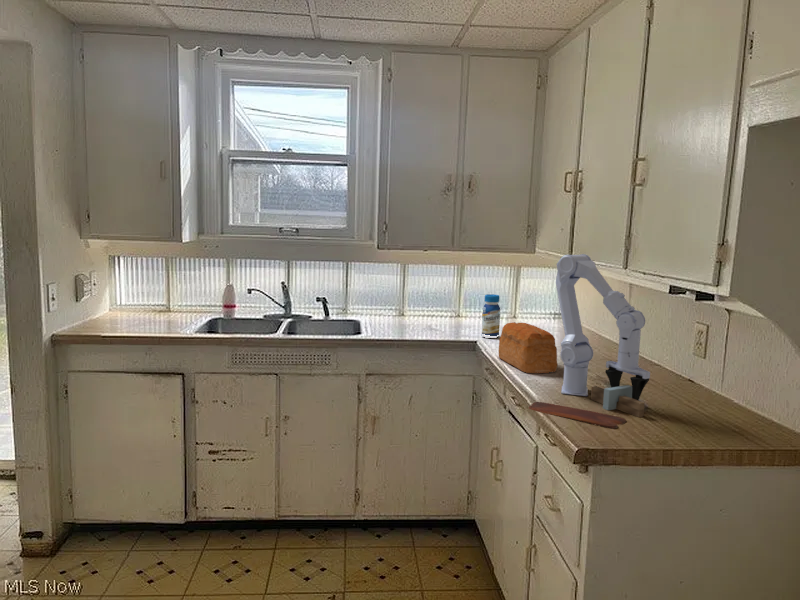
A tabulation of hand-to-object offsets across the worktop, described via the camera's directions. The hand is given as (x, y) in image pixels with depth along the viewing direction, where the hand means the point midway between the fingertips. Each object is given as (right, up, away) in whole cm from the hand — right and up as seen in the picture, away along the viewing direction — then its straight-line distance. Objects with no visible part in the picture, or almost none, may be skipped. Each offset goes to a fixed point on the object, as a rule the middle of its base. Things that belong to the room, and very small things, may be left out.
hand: (625, 396), depth 174 cm
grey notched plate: (-3, -3, -1) cm, 4 cm away
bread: (-19, +4, +49) cm, 53 cm away
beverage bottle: (-25, +11, +100) cm, 103 cm away
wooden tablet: (-18, -4, -8) cm, 20 cm away
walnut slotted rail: (-3, -3, -1) cm, 5 cm away
